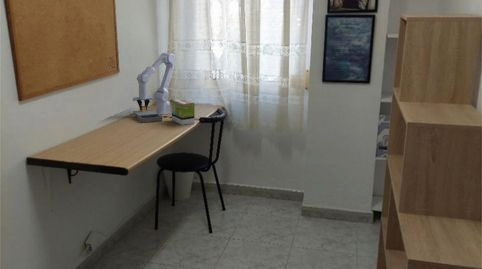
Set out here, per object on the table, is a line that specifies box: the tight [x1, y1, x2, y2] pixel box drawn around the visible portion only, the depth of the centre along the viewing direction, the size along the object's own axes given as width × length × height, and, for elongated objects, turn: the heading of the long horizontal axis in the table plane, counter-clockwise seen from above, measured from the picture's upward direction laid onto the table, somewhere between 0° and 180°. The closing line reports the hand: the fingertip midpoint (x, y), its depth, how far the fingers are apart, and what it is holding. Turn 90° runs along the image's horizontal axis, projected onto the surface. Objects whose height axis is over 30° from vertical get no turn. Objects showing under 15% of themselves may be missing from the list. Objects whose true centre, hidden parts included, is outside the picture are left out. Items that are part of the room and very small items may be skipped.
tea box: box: [171, 98, 195, 126], centre depth 306 cm, size 15×10×15 cm, turn 37°
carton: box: [136, 114, 163, 124], centre depth 309 cm, size 14×12×3 cm
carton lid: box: [133, 105, 158, 116], centre depth 315 cm, size 14×12×4 cm
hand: (143, 110), depth 319 cm, fingers closed on carton lid, 3 cm apart
